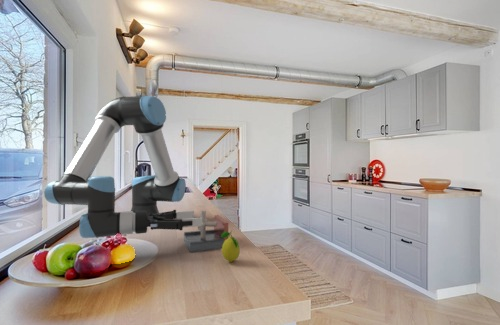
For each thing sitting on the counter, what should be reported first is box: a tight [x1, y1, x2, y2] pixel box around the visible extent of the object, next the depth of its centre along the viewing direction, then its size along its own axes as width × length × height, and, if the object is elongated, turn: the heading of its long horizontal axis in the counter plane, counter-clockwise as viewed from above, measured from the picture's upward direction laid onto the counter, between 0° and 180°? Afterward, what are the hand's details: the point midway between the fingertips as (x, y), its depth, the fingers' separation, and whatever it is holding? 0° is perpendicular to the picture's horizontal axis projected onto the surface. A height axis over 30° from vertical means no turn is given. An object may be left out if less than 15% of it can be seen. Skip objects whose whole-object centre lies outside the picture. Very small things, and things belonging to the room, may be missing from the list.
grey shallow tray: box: [183, 214, 229, 253], centre depth 98 cm, size 14×14×9 cm
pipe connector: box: [197, 209, 217, 238], centre depth 97 cm, size 10×10×10 cm
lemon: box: [221, 231, 241, 263], centre depth 80 cm, size 7×6×10 cm
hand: (197, 217), depth 97 cm, fingers open, 13 cm apart
